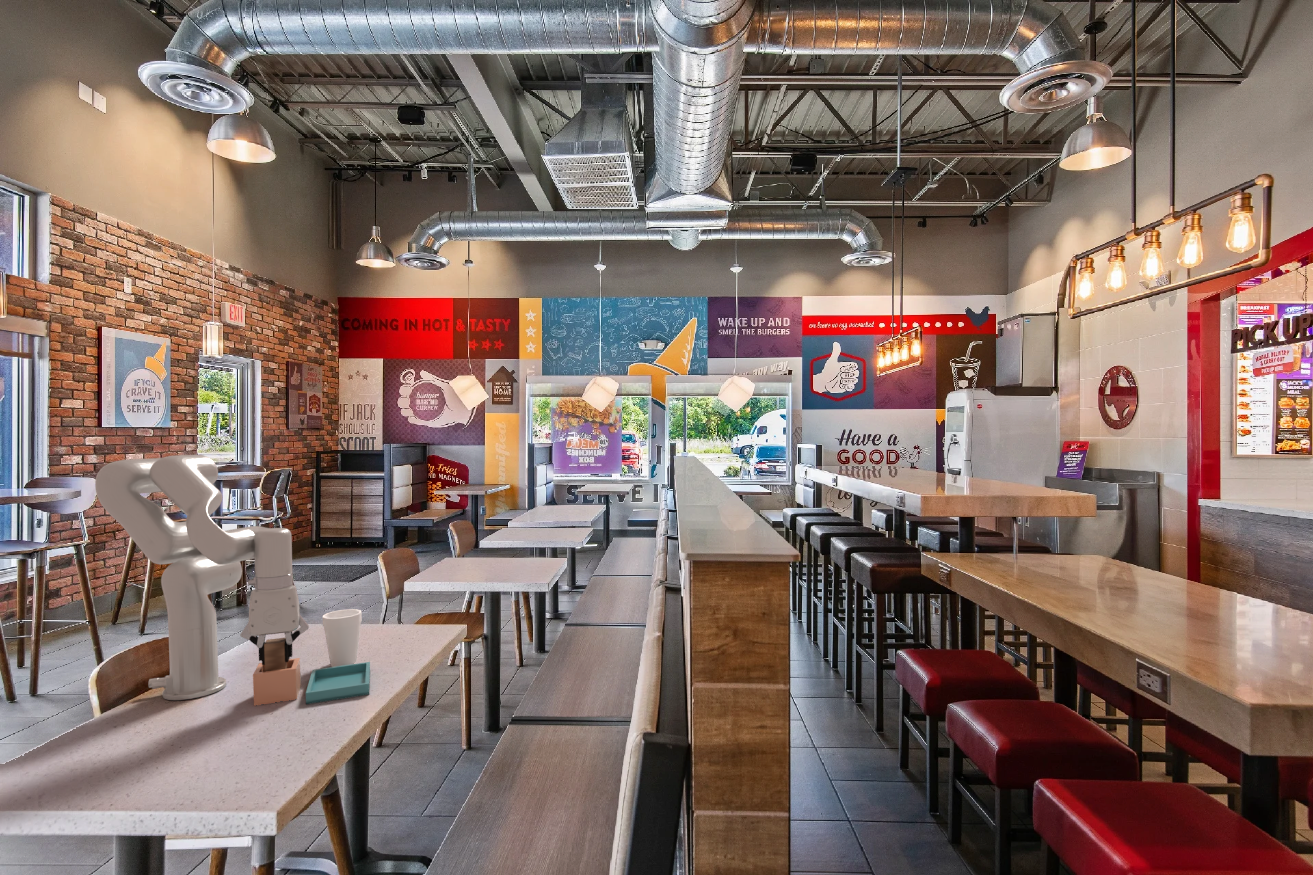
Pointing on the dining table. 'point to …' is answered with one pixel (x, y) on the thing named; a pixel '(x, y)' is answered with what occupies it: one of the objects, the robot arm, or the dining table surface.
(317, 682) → the tray
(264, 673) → the holder cup
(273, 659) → the walnut stick
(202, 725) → the dining table surface
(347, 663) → the foam cup
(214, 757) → the dining table surface
